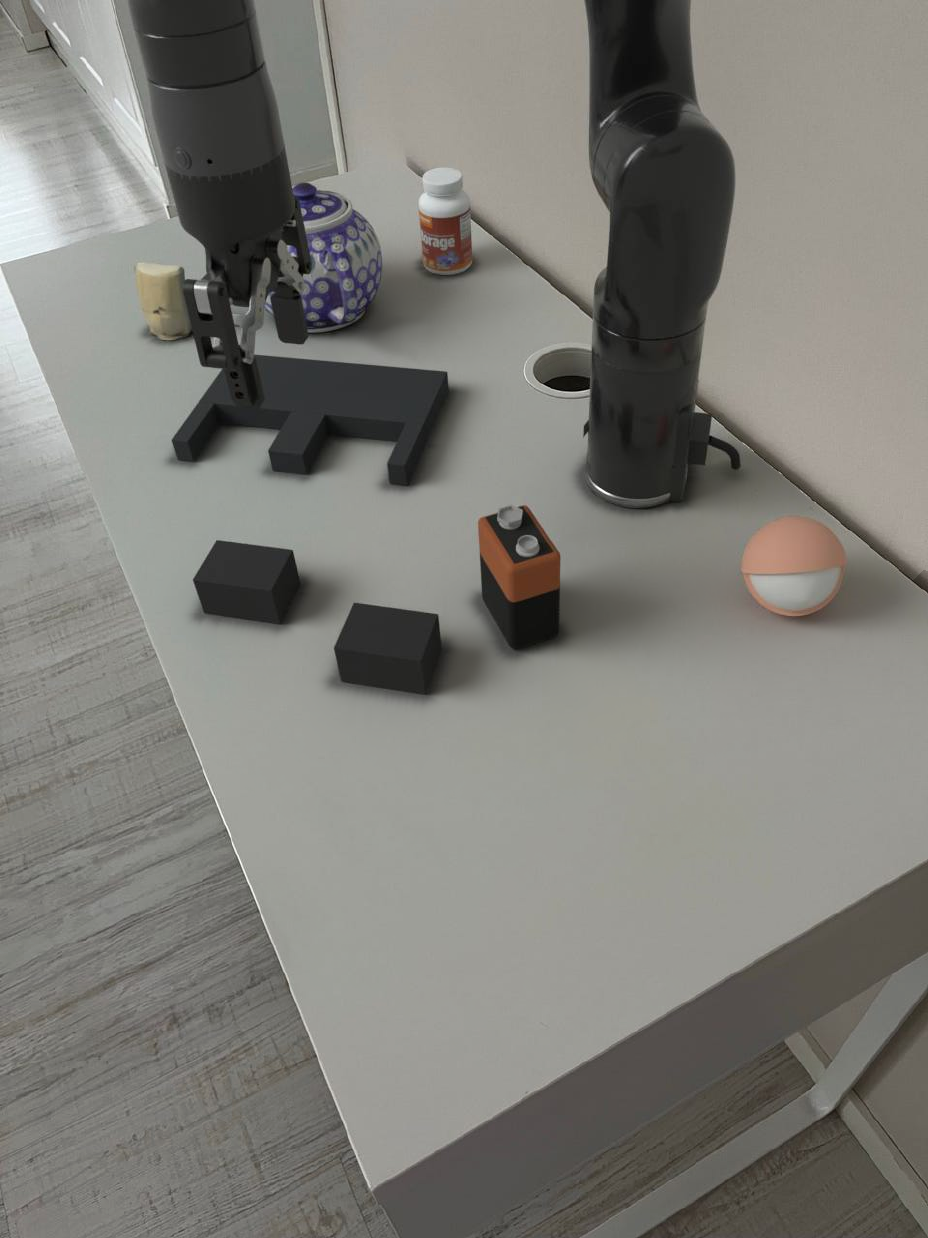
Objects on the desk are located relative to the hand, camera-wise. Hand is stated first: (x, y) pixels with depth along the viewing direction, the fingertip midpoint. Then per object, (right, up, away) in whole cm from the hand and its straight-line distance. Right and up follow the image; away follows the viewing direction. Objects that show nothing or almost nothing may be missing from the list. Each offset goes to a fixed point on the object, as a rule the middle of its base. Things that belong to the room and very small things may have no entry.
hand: (273, 371), depth 75 cm
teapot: (-3, +18, +46) cm, 50 cm away
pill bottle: (+12, +26, +52) cm, 59 cm away
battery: (+19, -18, +10) cm, 28 cm away
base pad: (-1, +2, +30) cm, 30 cm away
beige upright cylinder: (-20, +15, +45) cm, 51 cm away
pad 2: (+8, -22, +7) cm, 24 cm away
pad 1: (-4, -16, +13) cm, 21 cm away
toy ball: (+40, -17, +9) cm, 45 cm away
